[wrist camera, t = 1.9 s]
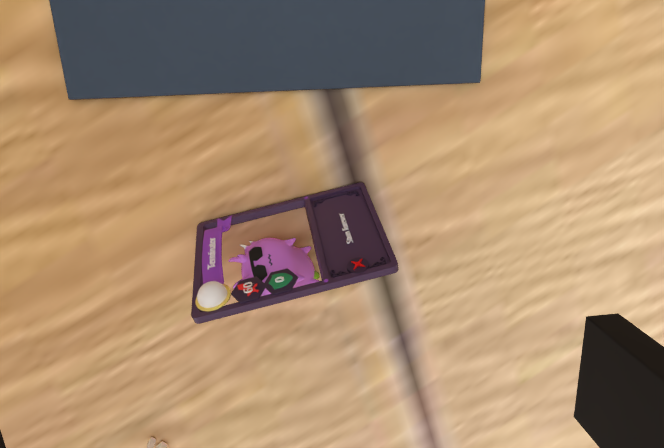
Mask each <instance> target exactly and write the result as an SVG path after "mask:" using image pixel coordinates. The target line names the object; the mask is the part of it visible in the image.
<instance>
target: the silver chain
mask: <svg viewBox="0 0 664 448" xmlns="http://www.w3.org/2000/svg"><path fill="white" fill-rule="evenodd" d="M155 442H156V439H155V438H153V437H151V438H150V439H149V441H148V444H147V448H154V445H155ZM167 445H168V444H166V443H165V442H163V441H161V442H160V443H159V444H158V445H157V446H156V448H167Z"/></svg>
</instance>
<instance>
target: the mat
mask: <svg viewBox="0 0 664 448" xmlns="http://www.w3.org/2000/svg"><path fill="white" fill-rule="evenodd" d="M49 1H50V6H51V11H52V16H53V21H54V26H55V32H56V37H57V42H58V47H59V52H60V57H61V62H62V68H63V73H64V78H65V83H66V88H67V93H68V98H69V99H70V100H72V99H96V98H120V97H144V96H169V95H193V94H217V93H241V92H265V91H289V90H313V89H338V88H362V87H386V86H410V85H434V84H458V83H480V79H481V62H482V44H483V26H484V8H485V0H49Z"/></svg>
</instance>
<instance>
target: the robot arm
mask: <svg viewBox="0 0 664 448" xmlns="http://www.w3.org/2000/svg"><path fill="white" fill-rule="evenodd" d="M574 417H575V419H576V420H577V421H578V422H579V423H580V425H581V426H582V427H583V428H584V429H585V431H586V432H587V433H588V434H589V435H590V437H591V438H592V439H593V440H594V441H595V443H596V444H597V445H598V446H599V447H600V448H664V347H663V346H662V345H660V344H659V343H657V342H656V341H655V340H653V339H652V338H651V337H649V336H648V335H647V334H645V333H644V332H642V331H641V330H640V329H638V328H637V327H636V326H634V325H633V324H632V323H630V322H629V321H628V320H626V319H625V318H623V317H622V316H621V315H619V314H608V315H598V316H588V317H586V323H585V331H584V339H583V347H582V355H581V363H580V371H579V379H578V387H577V395H576V403H575V411H574ZM0 448H6V447H5V443H4V440H3V437H2V434H1V431H0Z"/></svg>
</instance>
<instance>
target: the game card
mask: <svg viewBox="0 0 664 448" xmlns="http://www.w3.org/2000/svg"><path fill="white" fill-rule="evenodd" d="M301 207H305V209H306V213H307V217H308V222H309V226H310V230H311V235H312V239H313V243H314V247H315V252H316V256H317V260H318V265H319V269H320V273H321V278H322V281H319V280H316V279H318V278H319V273H318V272H316V271H314V266H313V263H312V261H311V259H310V258H309V256H308V255H307V253H308V252H309V251H310V250H311V246H307V247H303V248H297V247H295V246H293V243H294V242H295V240H296V238H292V239H288V240H280V239H277V238H264V239H261V240H258V241H249V242H250V243H251V245H250V246H246V245H240V246H242V247H243V248H245V255H242V254H241V255H237V256H238V257H233V258H231V259H229V260H228V261H229V262H240V263H242V269H241V270H242V278H243V279H241V280H240V281H238V282H237V283H235V285H234V286H233V289H234V290H233V291H232V293H231V290H230V288H229V287H228V286H227V285H225V284H224V278H223V269H222V232H225V231H228V230H229V229H230V225H234V224H238V223H242V222H246V221H250V220H254V219H258V218H262V217H266V216H270V215H274V214H278V213H282V212H286V211H290V210H293V209H297V208H301ZM397 271H398V263H397V260H396V257H395V255H394V253H393V250H392V248H391V246H390V243H389V241H388V239H387V236H386V234H385V232H384V229H383V227H382V224H381V222H380V220H379V217H378V215H377V213H376V210H375V208H374V206H373V203H372V201H371V199H370V196H369V194H368V192H367V189H366V187H365V185H364V183H361V182H360V183H356V184H352V185H348V186H344V187H340V188H336V189H332V190H328V191H324V192H320V193H316V194H312V195H308V196H304V197H300V198H296V199H292V200H288V201H284V202H281V203H277V204H273V205H269V206H265V207H261V208H257V209H253V210H249V211H245V212H241V213H237V214H233V215H229V216H225V217H221V218H217V219H213V220H209V221H205V222H202V223H200V224H198V226H197V236H196V251H195V267H194V282H193V297H192V312H191V316H192V318H193V320H194V321H195V323H197V324H199V323H204V322H208V321H211V320H215V319H219V318H223V317H227V316H231V315H235V314H238V313H242V312H246V311H250V310H254V309H258V308H262V307H265V306H269V305H273V304H277V303H281V302H285V301H289V300H292V299H296V298H300V297H304V296H308V295H312V294H316V293H319V292H323V291H327V290H331V289H335V288H339V287H343V286H346V285H350V284H354V283H358V282H362V281H366V280H370V279H373V278H377V277H381V276H385V275H389V274H393V273H396V272H397ZM231 295H232V296H233V297H234V298H235V299H236V300H237V301H238V302H237V303H233V304H230V305H226V306H224V305H225V304H226V303H227V302H228V300H229V299H230V296H231Z"/></svg>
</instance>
